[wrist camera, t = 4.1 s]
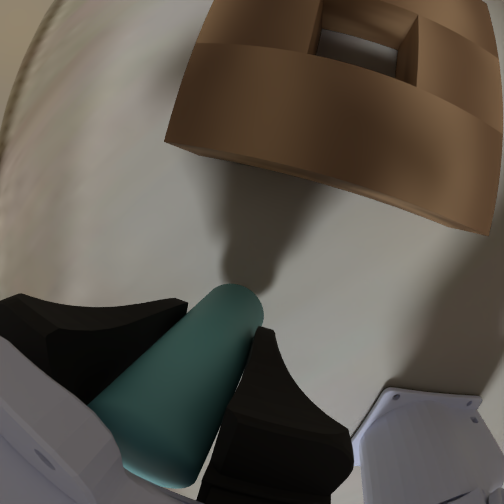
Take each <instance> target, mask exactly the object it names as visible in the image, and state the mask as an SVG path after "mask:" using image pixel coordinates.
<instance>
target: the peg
mask: <svg viewBox="0 0 504 504" xmlns="http://www.w3.org/2000/svg"><path fill="white" fill-rule="evenodd" d="M263 319H264V312H263V307H262V304H261V302H260V300H259V299H258V297H257V296H256V295H255V294H254V293H253V292H252V291H250V290H249V289H248V288H246V287H244V286H241V285H237V284H224V285H220V286H218V287H216V288H214V289H213V290H212V291H211V292H210V293H209V294H208V295H206V296H205V297H204V298H203V299H202V300H201V301H200V302H199V303H198V304H197V305H196V306H195V307H193V308H192V309H191V310H190V311H189V312H188V313H187V314H186V315H185V316H184V317H183V318H182V319H180V320H179V321H178V322H177V323H176V324H175V325H174V326H173V327H172V328H171V329H170V330H169V331H167V332H166V333H165V334H164V335H163V336H162V337H161V338H160V339H159V340H158V341H157V342H155V343H154V344H153V345H152V346H151V347H150V348H149V349H148V350H147V351H146V352H145V353H144V354H142V355H141V356H140V357H139V358H138V359H137V360H136V361H135V362H134V363H133V364H132V365H131V366H129V367H128V368H127V369H126V370H125V371H124V372H123V373H122V374H121V375H120V376H119V377H117V378H116V379H115V380H114V381H113V382H112V383H111V384H110V385H109V386H108V387H107V388H106V389H104V390H103V391H102V392H101V393H100V394H99V395H98V396H97V397H96V398H95V399H94V400H92V401H91V402H90V403H89V404H88V405H87V406H88V407H89V408H90V409H91V410H92V411H94V412H95V413H96V415H97V416H98V417H99V418H100V420H101V421H102V422H103V423H104V424H105V426H106V427H107V428H108V429H109V430H110V431H111V433H112V435H113V437H114V439H115V441H116V443H117V445H118V447H119V450H120V453H121V457H122V463H123V467H124V468H125V469H127V470H128V471H130V472H131V473H133V474H135V475H137V476H139V477H141V478H143V479H145V480H147V481H149V482H152V483H154V484H156V485H158V486H162V487H167V488H186V487H189V486H191V485H192V484H194V483H195V481H196V479H197V477H198V475H199V473H200V471H201V469H202V466H203V464H204V462H205V460H206V458H207V455H208V453H209V451H210V449H211V446H212V444H213V442H214V440H215V437H216V435H217V433H218V431H219V428H220V426H221V424H222V420H223V417H224V413H225V410H226V407H227V405H228V404H229V402H230V400H231V398H232V397H233V395H234V393H235V391H236V388H237V386H238V383H239V381H240V379H241V376H242V374H243V371H244V369H245V366H246V363H247V360H248V356H249V352H250V349H251V345H252V342H253V338H254V335H255V332H256V329H257V328H258V326H262V323H263Z"/></svg>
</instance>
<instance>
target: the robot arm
mask: <svg viewBox="0 0 504 504" xmlns="http://www.w3.org/2000/svg"><path fill="white" fill-rule="evenodd" d="M187 308H188V302H185V301H182V300H179V299H177V298H169V299H163V300H157V301H152V302H146V303H140V304H133V305H126V306H117V307H82V306H70V305H64V304H58V303H53V302H48V301H44V300H41V299H37V298H34V297H31V296H28V295H25V294H16V295H14V296H11V297H9V298H6V299H3V300H1V301H0V504H331V494H332V493H333V492H334V491H335V490H336V489H337V488H338V487H339V486H340V485H341V484H342V483H343V482H344V481H345V480H346V479H347V478H348V476H349V475H350V473H351V472H352V470H353V466H360V467H361V477H362V487H363V500H364V504H504V489H503V488H501V487H502V485H503V482H504V455H503V453H502V451H501V449H500V447H499V446H498V444H497V442H496V440H495V439H494V437H493V435H492V434H491V432H490V430H489V429H488V427H487V425H486V424H485V422H484V420H483V419H482V417H481V416H480V414H479V412H478V411H477V409H478V407H479V406H480V404H481V403H482V398H481V397H480V396H470V395H454V394H443V393H432V392H423V391H415V390H408V389H401V388H394V387H389V388H386V389H385V390H384V391H383V392H382V393H381V395H380V397H379V398H378V400H377V402H376V403H375V405H374V406H373V408H372V410H371V411H370V413H369V414H368V416H367V417H366V419H365V420H364V422H363V423H362V425H361V426H360V428H359V429H358V431H357V432H356V433H355V435H354V436H353V438H352V439H351V438H350V435H349V430H348V429H347V428H346V427H344V426H343V425H341V424H340V423H338V422H337V421H335V420H334V419H332V418H331V417H329V416H328V415H327V414H325V413H324V412H323V411H322V410H321V409H320V408H318V407H317V406H316V405H315V404H314V403H313V402H312V401H311V400H310V399H309V398H308V397H307V396H306V395H305V394H304V393H303V391H302V390H301V389H300V388H299V387H298V385H297V384H296V383H295V381H294V380H293V378H292V377H291V375H290V373H289V372H288V370H287V368H286V366H285V364H284V361H283V359H282V356H281V354H280V351H279V348H278V345H277V341H276V337H275V332H274V330H271V329H268V328H264V327H261V326H258V328H257V329H256V332H255V335H254V338H253V342H252V345H251V349H250V352H249V356H248V360H247V363H246V366H245V369H244V372H243V375H242V379H241V381H240V383H239V385H238V387H237V389H236V391H235V393H234V395H233V397H232V398H231V400H230V402H229V404H228V405H227V407H226V410H225V413H224V417H223V420H222V424H221V427H220V430H219V434H218V437H217V440H216V444H215V447H214V450H213V453H212V457H211V460H210V463H209V465H208V467H207V469H206V472H205V474H204V476H203V479H202V483H201V487H200V490H199V493H198V497H197V500H193V499H190V498H187V497H185V496H182V495H180V494H177V493H175V492H172V491H170V490H167V489H165V488H163V487H160V486H158V485H156V484H154V483H152V482H149V481H147V480H145V479H143V478H141V477H139V476H137V475H135V474H133V473H131V472H130V471H128V470H127V469H125V468H124V467H123V463H122V457H121V453H120V450H119V447H118V445H117V443H116V441H115V439H114V437H113V435H112V433H111V431H110V430H109V429H108V428H107V427H106V426H105V424H104V423H103V422H102V421H101V420H100V418H99V417H98V416H97V415H96V413H95V412H94V411H92V410H91V409H90V408H89V407H88V406H87V405H88V404H89V403H90V402H91V401H92V400H94V399H95V398H96V397H97V396H98V395H99V394H100V393H101V392H102V391H103V390H104V389H106V388H107V387H108V386H109V385H110V384H111V383H112V382H113V381H114V380H115V379H116V378H117V377H119V376H120V375H121V374H122V373H123V372H124V371H125V370H126V369H127V368H128V367H129V366H131V365H132V364H133V363H134V362H135V361H136V360H137V359H138V358H139V357H140V356H141V355H142V354H144V353H145V352H146V351H147V350H148V349H149V348H150V347H151V346H152V345H153V344H154V343H155V342H157V341H158V340H159V339H160V338H161V337H162V336H163V335H164V334H165V333H166V332H167V331H169V330H170V329H171V328H172V327H173V326H174V325H175V324H176V323H177V322H178V321H179V320H180V319H182V318H183V317H184V316H185V315H186V314H187ZM396 394H398V395H397V396H395V397H393V396H394V395H396Z"/></svg>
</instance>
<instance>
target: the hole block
mask: <svg viewBox="0 0 504 504" xmlns="http://www.w3.org/2000/svg"><path fill="white" fill-rule="evenodd" d="M322 29H327V30H331V31H336V32H340V33H344V34H348V35H352V36H355V37H359V38H362V39H366V40H369V41H372V42H375V43H378V44H381V45H384V46H387V47H390V48H393V49H395V50H398V52H397V64H396V75H395V78H392V77H389V76H387V75H384V74H381V73H378V72H375V71H372V70H369V69H366V68H362V67H359V66H356V65H352V64H349V63H345V62H341V61H337V60H333V59H329V58H325V57H320V56H316V52H317V48H318V43H319V39H320V34H321V30H322ZM502 140H503V101H502V85H501V74H500V66H499V58H498V52H497V46H496V40H495V35H494V31H493V26H492V22H491V18H490V14H489V10H488V7H487V4H486V3H485V2H483V1H482V0H214V1H213V3H212V6H211V8H210V10H209V12H208V14H207V17H206V19H205V21H204V24H203V26H202V29H201V31H200V33H199V36H198V38H197V41H196V43H195V46H194V49H193V51H192V54H191V57H190V59H189V62H188V65H187V68H186V71H185V73H184V76H183V79H182V82H181V85H180V88H179V91H178V95H177V98H176V101H175V104H174V108H173V111H172V114H171V118H170V121H169V125H168V129H167V132H166V136H165V140H164V142H166V143H169V144H171V145H174V146H176V147H179V148H182V149H184V150H187V151H189V152H192V153H194V154H197V155H199V156H205V157H210V158H216V159H221V160H226V161H231V162H236V163H240V164H245V165H250V166H254V167H259V168H263V169H267V170H272V171H276V172H280V173H284V174H288V175H292V176H296V177H299V178H303V179H307V180H311V181H314V182H318V183H322V184H325V185H329V186H332V187H335V188H339V189H342V190H346V191H349V192H352V193H355V194H358V195H362V196H365V197H368V198H371V199H374V200H377V201H380V202H383V203H386V204H389V205H392V206H395V207H397V208H400V209H403V210H406V211H408V212H411V213H414V214H417V215H419V216H422V217H425V218H427V219H430V220H432V221H435V222H437V223H440V224H442V225H445V226H447V227H451V228H455V229H460V230H464V231H468V232H473V233H477V234H481V235H485V236H489V232H490V228H491V224H492V219H493V214H494V209H495V203H496V198H497V191H498V184H499V176H500V168H501V156H502Z"/></svg>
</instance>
